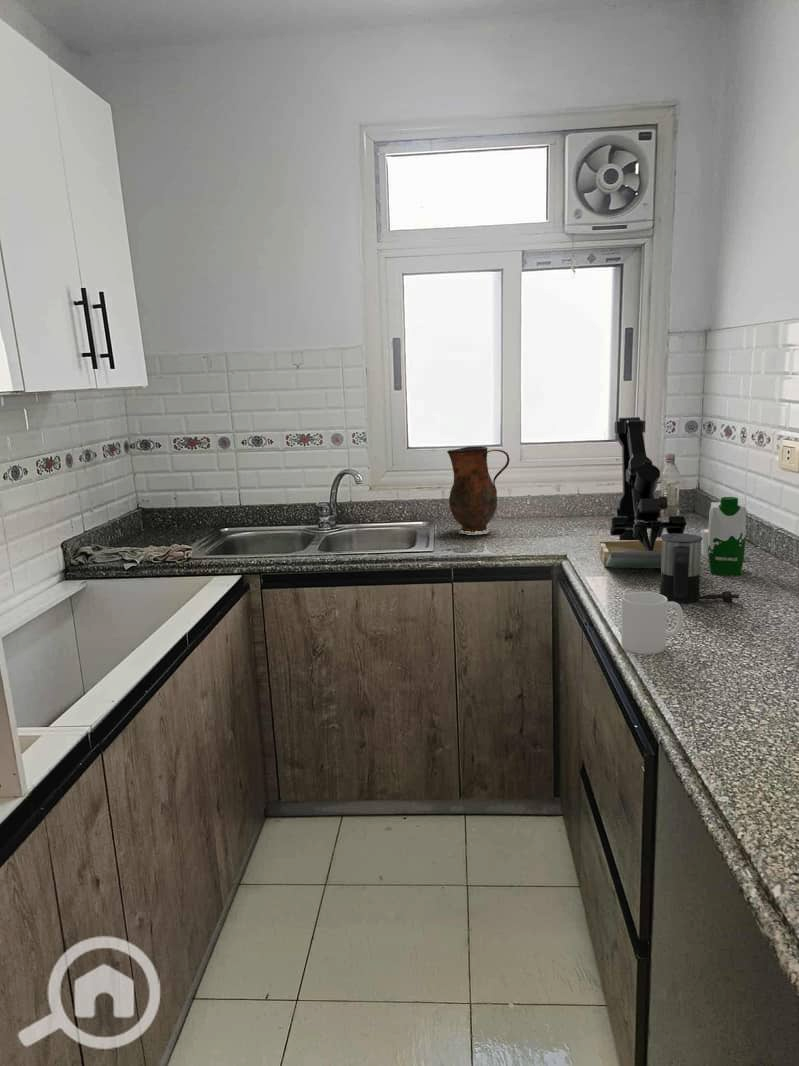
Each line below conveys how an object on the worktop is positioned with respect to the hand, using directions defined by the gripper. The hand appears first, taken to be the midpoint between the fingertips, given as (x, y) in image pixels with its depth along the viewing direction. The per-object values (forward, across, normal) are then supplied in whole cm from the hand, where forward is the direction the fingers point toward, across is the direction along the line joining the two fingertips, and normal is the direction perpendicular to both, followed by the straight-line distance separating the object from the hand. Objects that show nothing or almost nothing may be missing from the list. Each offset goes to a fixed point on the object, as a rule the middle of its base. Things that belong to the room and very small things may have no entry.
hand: (650, 552), depth 184 cm
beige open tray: (-6, 0, +16) cm, 17 cm away
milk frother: (+19, +7, -9) cm, 22 cm away
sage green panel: (-3, 0, +10) cm, 11 cm away
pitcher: (-36, -47, +46) cm, 75 cm away
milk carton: (+1, +20, +9) cm, 22 cm away
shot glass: (-12, +22, +22) cm, 33 cm away
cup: (+40, -8, -30) cm, 51 cm away
